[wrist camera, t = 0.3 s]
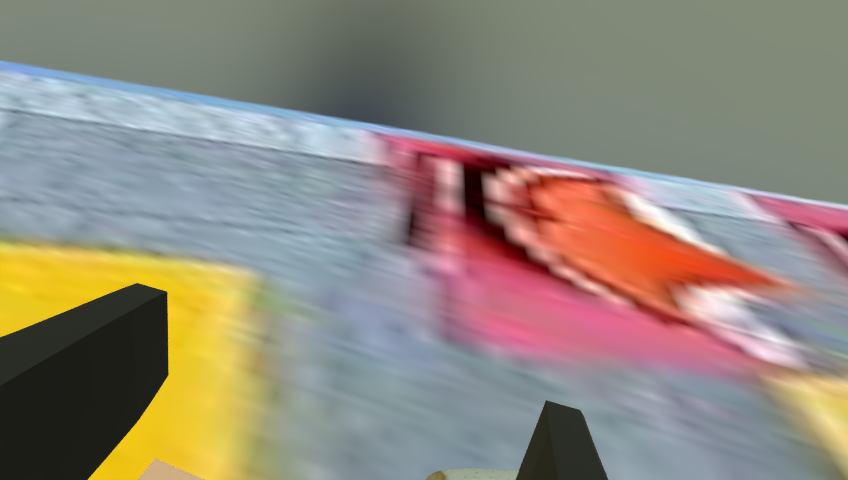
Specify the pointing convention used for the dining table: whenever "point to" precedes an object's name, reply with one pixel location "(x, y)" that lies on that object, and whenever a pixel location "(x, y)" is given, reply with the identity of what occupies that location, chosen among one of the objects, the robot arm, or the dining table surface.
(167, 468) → the terracotta block
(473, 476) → the ceramic mug
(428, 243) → the dining table surface
